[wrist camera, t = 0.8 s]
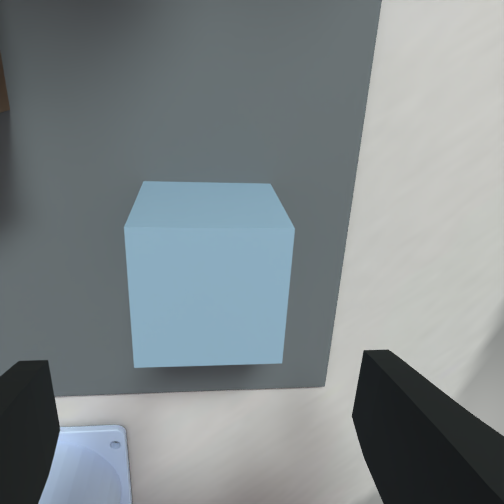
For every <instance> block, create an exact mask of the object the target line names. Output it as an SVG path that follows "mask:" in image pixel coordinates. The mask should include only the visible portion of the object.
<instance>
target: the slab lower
mask: <svg viewBox="0 0 504 504" xmlns="http://www.w3.org/2000/svg"><path fill="white" fill-rule="evenodd" d="M7 110H10V106H9V100H8V94H7V88H6V82H5V76H4V70H3V63H2V57H1V51H0V113H1V112H4V111H7Z"/></svg>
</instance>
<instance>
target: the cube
mask: <svg viewBox="0 0 504 504" xmlns="http://www.w3.org/2000/svg"><path fill="white" fill-rule="evenodd" d="M294 234H295V228H294V226H293V224H292V222H291V220H290V218H289V217H288V215H287V213H286V211H285V209H284V207H283V206H282V204H281V202H280V200H279V198H278V196H277V195H276V193H275V191H274V189H273V187H272V186H271V184H262V183H211V182H160V181H143V184H142V186H141V188H140V191H139V193H138V195H137V198H136V200H135V202H134V205H133V207H132V210H131V212H130V214H129V217H128V219H127V221H126V224H125V226H124V235H125V249H126V262H127V276H128V290H129V304H130V318H131V332H132V346H133V360H134V368H144V367H178V366H211V365H245V364H278V363H282V359H283V349H284V338H285V328H286V317H287V307H288V296H289V286H290V275H291V265H292V254H293V244H294Z"/></svg>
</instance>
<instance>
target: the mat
mask: <svg viewBox="0 0 504 504" xmlns="http://www.w3.org/2000/svg"><path fill="white" fill-rule="evenodd" d="M381 2H382V0H0V51H1V57H2V63H3V70H4V76H5V82H6V88H7V94H8V100H9V106H10V110H7V111H4V112H1V113H0V376H1V375H2V374H4V373H5V372H6V371H7V370H8V369H10V368H11V367H12V366H13V365H14V364H16V363H17V362H18V361H30V360H48V362H49V368H50V374H51V380H52V385H53V391H54V396H76V395H104V394H131V393H158V392H186V391H213V390H240V389H268V388H295V387H322V386H325V381H326V374H327V367H328V361H329V354H330V347H331V340H332V333H333V327H334V320H335V313H336V306H337V300H338V293H339V286H340V279H341V273H342V266H343V259H344V252H345V245H346V239H347V232H348V225H349V218H350V212H351V205H352V198H353V191H354V184H355V178H356V171H357V164H358V157H359V151H360V144H361V137H362V130H363V124H364V117H365V110H366V103H367V96H368V90H369V83H370V76H371V69H372V63H373V56H374V49H375V42H376V35H377V29H378V22H379V15H380V8H381ZM143 181H160V182H211V183H262V184H271V186H272V187H273V189H274V191H275V193H276V195H277V196H278V198H279V200H280V202H281V204H282V206H283V207H284V209H285V211H286V213H287V215H288V217H289V218H290V220H291V222H292V224H293V226H294V228H295V234H294V244H293V254H292V265H291V275H290V286H289V296H288V307H287V317H286V328H285V338H284V349H283V359H282V363H278V364H245V365H211V366H178V367H144V368H134V360H133V346H132V332H131V318H130V304H129V290H128V276H127V262H126V249H125V235H124V226H125V224H126V221H127V219H128V217H129V214H130V212H131V210H132V207H133V205H134V202H135V200H136V198H137V195H138V193H139V191H140V188H141V186H142V184H143Z"/></svg>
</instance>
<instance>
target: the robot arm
mask: <svg viewBox="0 0 504 504" xmlns="http://www.w3.org/2000/svg"><path fill="white" fill-rule="evenodd" d="M352 418H353V422H354V425H355V429H356V432H357V436H358V440H359V443H360V446H361V449H362V453H363V456H364V459H365V461H366V463H367V466H368V468H369V471H370V473H371V475H372V478H373V480H374V482H375V485H376V487H377V489H378V492H379V494H380V496H381V499H382V501H383V503H384V504H504V436H502V435H501V434H499V433H498V432H496V431H495V430H494V429H492V428H491V427H490V426H488V425H487V424H485V423H484V422H482V421H481V420H480V419H478V418H477V417H475V416H474V415H473V414H471V413H470V412H468V411H467V410H466V409H465V408H463V407H462V406H461V405H459V404H458V403H457V402H455V401H454V400H453V399H451V398H450V397H449V396H448V395H446V394H445V393H444V392H442V391H441V390H440V389H439V388H437V387H436V386H435V385H433V384H432V383H431V382H430V381H428V380H427V379H426V378H425V377H423V376H422V375H421V374H419V373H418V372H417V371H416V370H414V369H413V368H412V367H411V366H409V365H408V364H407V363H406V362H404V361H403V360H402V359H400V358H399V357H398V356H396V355H395V354H394V353H392V352H391V351H389V350H364V352H363V358H362V363H361V369H360V374H359V380H358V385H357V391H356V396H355V402H354V407H353V413H352ZM114 441H117V442H118V443H115V442H114ZM0 504H132V494H131V483H130V471H129V460H128V448H127V437H126V430H125V429H124V428H123V427H122V426H120V425H100V426H78V427H60V426H59V420H58V414H57V409H56V403H55V397H54V391H53V385H52V380H51V374H50V368H49V362H48V360H30V361H18V362H17V363H16V364H14V365H13V366H12V367H11V368H10V369H8V370H7V371H6V372H5V373H4V374H2V375H1V376H0Z"/></svg>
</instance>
